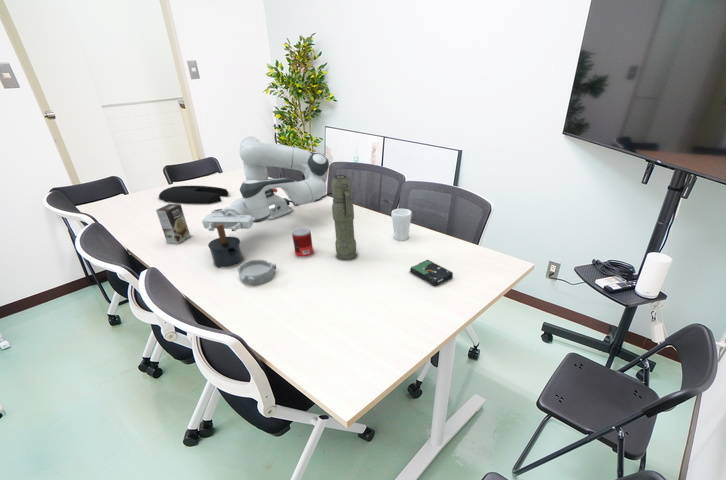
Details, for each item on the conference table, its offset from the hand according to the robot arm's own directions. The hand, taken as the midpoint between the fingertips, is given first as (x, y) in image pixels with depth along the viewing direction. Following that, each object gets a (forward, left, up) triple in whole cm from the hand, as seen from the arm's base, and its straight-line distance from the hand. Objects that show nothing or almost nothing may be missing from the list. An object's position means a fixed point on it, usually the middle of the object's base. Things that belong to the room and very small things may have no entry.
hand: (221, 229), depth 161 cm
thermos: (-38, +34, -14) cm, 53 cm away
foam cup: (-69, +38, -14) cm, 80 cm away
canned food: (-26, +19, -14) cm, 35 cm away
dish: (-1, +23, -14) cm, 27 cm away
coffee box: (+7, -36, -14) cm, 40 cm away
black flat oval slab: (-23, -92, -14) cm, 96 cm away
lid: (+1, +2, -6) cm, 6 cm away
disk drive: (-51, +72, -14) cm, 89 cm away
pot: (+1, +2, -14) cm, 14 cm away
